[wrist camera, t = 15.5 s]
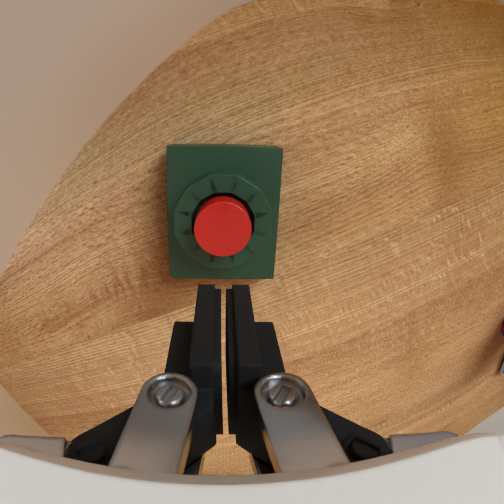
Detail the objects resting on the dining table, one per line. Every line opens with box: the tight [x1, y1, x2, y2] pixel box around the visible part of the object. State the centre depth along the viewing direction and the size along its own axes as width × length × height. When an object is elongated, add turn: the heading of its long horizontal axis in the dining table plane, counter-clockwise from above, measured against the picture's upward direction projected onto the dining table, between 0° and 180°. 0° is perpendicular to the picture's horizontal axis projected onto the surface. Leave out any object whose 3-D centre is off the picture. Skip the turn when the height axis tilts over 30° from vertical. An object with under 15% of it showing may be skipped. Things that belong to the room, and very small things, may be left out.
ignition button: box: [194, 196, 252, 257], centre depth 21 cm, size 4×4×2 cm
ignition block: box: [167, 144, 283, 279], centre depth 23 cm, size 10×8×4 cm
